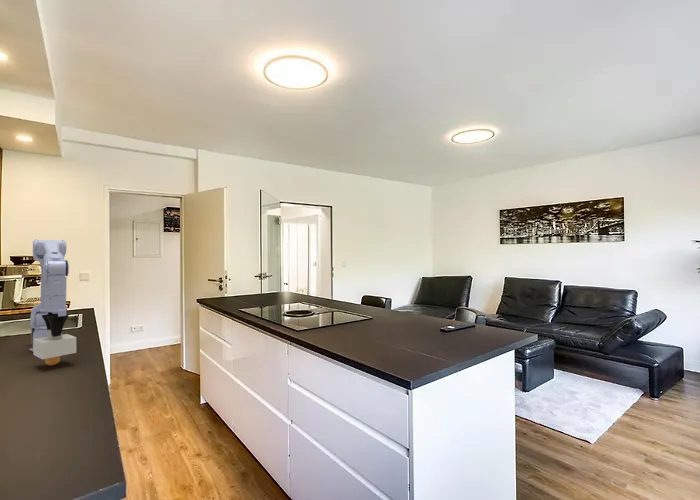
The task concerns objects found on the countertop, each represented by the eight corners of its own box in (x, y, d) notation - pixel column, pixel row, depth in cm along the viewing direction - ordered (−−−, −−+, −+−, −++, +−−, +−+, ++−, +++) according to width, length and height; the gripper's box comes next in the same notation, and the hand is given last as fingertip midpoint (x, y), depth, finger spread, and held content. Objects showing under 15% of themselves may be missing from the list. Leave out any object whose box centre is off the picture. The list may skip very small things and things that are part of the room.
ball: (44, 352, 121) (47, 359, 119) (58, 349, 124) (62, 356, 122) (42, 362, 122) (45, 369, 120) (57, 359, 125) (60, 366, 123)
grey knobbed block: (33, 354, 120) (33, 330, 120) (66, 348, 128) (66, 325, 128) (42, 359, 115) (42, 333, 115) (76, 352, 123) (76, 328, 123)
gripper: (33, 295, 123) (32, 334, 122) (47, 298, 114) (46, 340, 114) (59, 293, 128) (58, 331, 128) (74, 296, 120) (73, 336, 120)
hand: (54, 335), depth 122 cm, fingers closed on grey knobbed block, 3 cm apart
